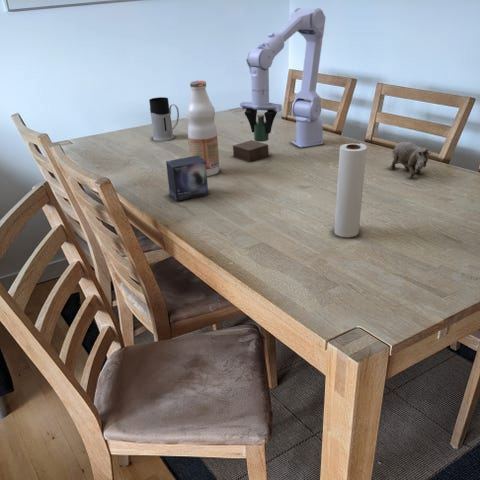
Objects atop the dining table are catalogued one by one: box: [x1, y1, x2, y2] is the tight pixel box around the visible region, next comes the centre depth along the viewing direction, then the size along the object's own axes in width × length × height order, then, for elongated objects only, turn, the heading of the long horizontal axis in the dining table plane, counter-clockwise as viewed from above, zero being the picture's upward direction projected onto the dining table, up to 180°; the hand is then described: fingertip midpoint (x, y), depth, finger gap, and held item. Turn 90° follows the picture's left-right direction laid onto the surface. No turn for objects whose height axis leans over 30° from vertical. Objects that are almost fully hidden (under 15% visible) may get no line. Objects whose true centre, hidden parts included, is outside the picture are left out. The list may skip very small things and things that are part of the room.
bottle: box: [253, 114, 270, 143], centre depth 172 cm, size 5×5×8 cm
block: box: [232, 139, 269, 163], centre depth 181 cm, size 9×9×4 cm
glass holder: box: [148, 96, 180, 142], centre depth 203 cm, size 9×14×15 cm, turn 54°
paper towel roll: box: [333, 142, 368, 238], centre depth 120 cm, size 7×6×21 cm
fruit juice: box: [185, 80, 220, 177], centre depth 162 cm, size 9×9×28 cm
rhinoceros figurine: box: [389, 140, 432, 180], centre depth 157 cm, size 8×14×15 cm
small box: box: [165, 155, 209, 202], centre depth 150 cm, size 11×6×10 cm, turn 118°
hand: (261, 132), depth 173 cm, fingers closed on bottle, 5 cm apart
